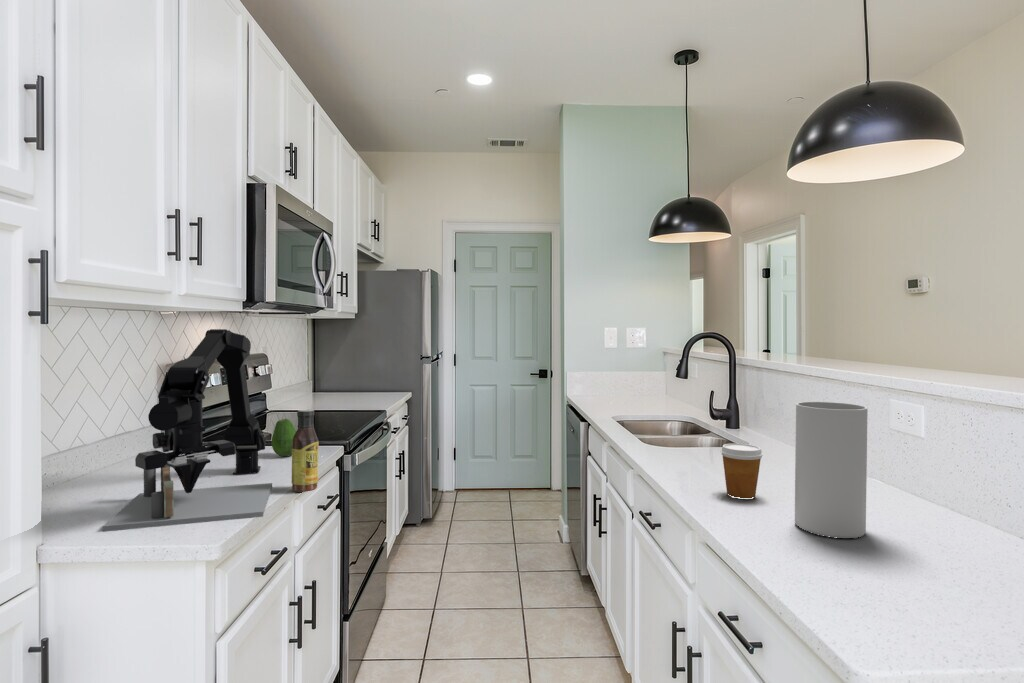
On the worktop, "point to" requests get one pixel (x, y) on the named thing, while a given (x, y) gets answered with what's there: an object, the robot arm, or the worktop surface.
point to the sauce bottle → (305, 453)
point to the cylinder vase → (831, 468)
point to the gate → (167, 491)
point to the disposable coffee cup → (741, 469)
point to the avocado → (283, 437)
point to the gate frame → (191, 505)
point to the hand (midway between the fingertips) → (188, 492)
